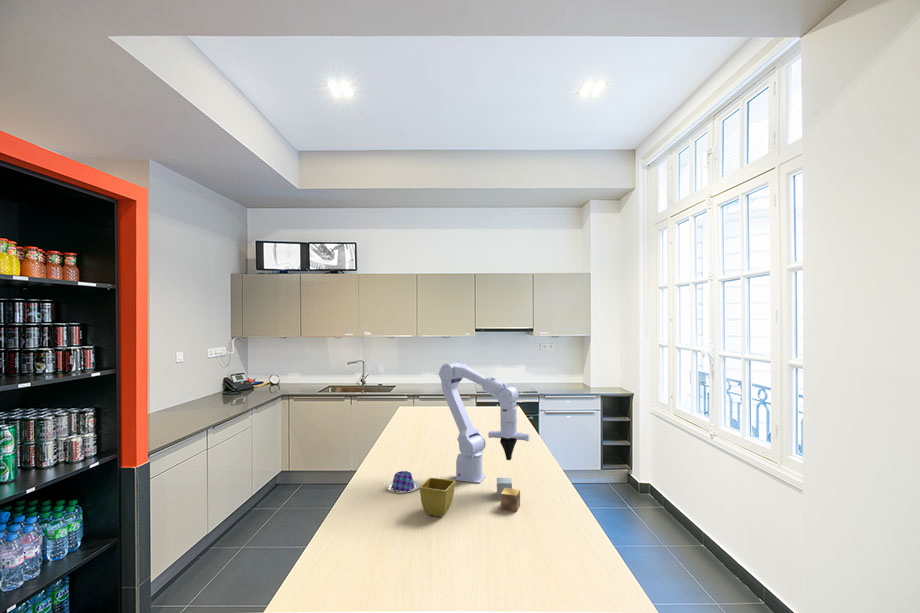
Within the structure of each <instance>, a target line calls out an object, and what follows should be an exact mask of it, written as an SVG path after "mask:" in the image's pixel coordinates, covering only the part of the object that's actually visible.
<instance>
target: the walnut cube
mask: <svg viewBox="0 0 920 613" xmlns="http://www.w3.org/2000/svg"><path fill="white" fill-rule="evenodd" d="M520 507H521V489H520V488H513V487H512V488H504V490H503V491H502V493H501V498H500V510H501V511H505V510H506V512H512V511H513V512H514V513H517V512H518V511H519V509H520Z"/></svg>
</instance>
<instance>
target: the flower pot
mask: <svg viewBox="0 0 920 613" xmlns="http://www.w3.org/2000/svg"><path fill="white" fill-rule="evenodd" d="M455 486H456V481H455V480H453V479H444V478H438V477H429V478H428V479H427V480H425V481H424V483H422V484H420V487H419V493H420V502H421V506H422V509H423V510H424V512H425V513H426V515H429V516H435V517H441V518H442V517H443V516H445V515H446V513H447V512H448V510H450V506H451V504H452V503H453V499H454V496H455V494H454V493H455Z"/></svg>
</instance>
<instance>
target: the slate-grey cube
mask: <svg viewBox="0 0 920 613" xmlns="http://www.w3.org/2000/svg"><path fill="white" fill-rule="evenodd" d="M512 482H513V481H512V477H496V498H497V499H501V493H502V491H503V490H504V488H512V489H513V483H512Z"/></svg>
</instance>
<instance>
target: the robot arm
mask: <svg viewBox="0 0 920 613" xmlns="http://www.w3.org/2000/svg"><path fill="white" fill-rule="evenodd" d="M438 376H439V378H440V383H441V391H442V393H443V395H444V398H445V401H446V403H447V404H448V405H447V406H448V407H449V410H450V412H451V415H452V417H453V420H454V423H455V424H456V427H457V429H458V431H459V432H458V436H457V439H456V440H457V442H458V449H459V452H460V453H458V455H457V457H456V462H455V464H456V466H455V469H456V471H455V475H456V476H455V480H456V481H459V482H460V481H461V482H466V483H467V482H468V483H476V484H480V483H481V482H482V481H483V480H484V478H486V476H487V475H486V474H483V452H484V450H485V448H486V439H485V437H484V436H483V435H482V434H481V433H480V430H479V429H477V428H476V427H474V426H473V423H472V421H471V419H470V416H469V414H468V412H467V409H466V407H465V405H464V402H463V400H462V398H461V395H460V393H459V391H458V387H459V384H460V383H461V382H462V380H463V379H467V380H469V381H470V382H473V383H475V384H477V385H479V386H481V388H482V391H484V392H485V393H487V394H489V395H491V396H493V397H494V398H496V399H497V401H498V402H499V408H500V412H499V413H500V414H499V415H500V419H499V420H500V431H499V430H498V431H497V430H496V431H495V430H490V431H488V432H487V433H488V434H487V435H488V439H491V438H493V439H499V440H500V441H499V442H500V445H501V447H502V449H503V451H504V452H503V453H504V455H505V459H506V461H511V460H512V457H513V452H514V450H515V446H516V443H517V441H525V442H530V434H528V433H522V432H518V431H517V429H518V428H517V426H518V425H517V423H518V422H517V421H518V420H517V419H518V418H517V416H518V414H517V401H518V400H519V398H520V392H519V390H518V388H517V387H515V386H514V385H507V383H506V382H501V381H499V380H498V379H497V377H496V376H488V377H486V376H484V375H482V374H480V373H479V372H477V371H476V370H475V369H473V368H471V367H470V366H469V365H468V364H466V363H463V362H461V361H457V362H453V363H444V364H442V365H441V366H440V369H439V371H438Z"/></svg>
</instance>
